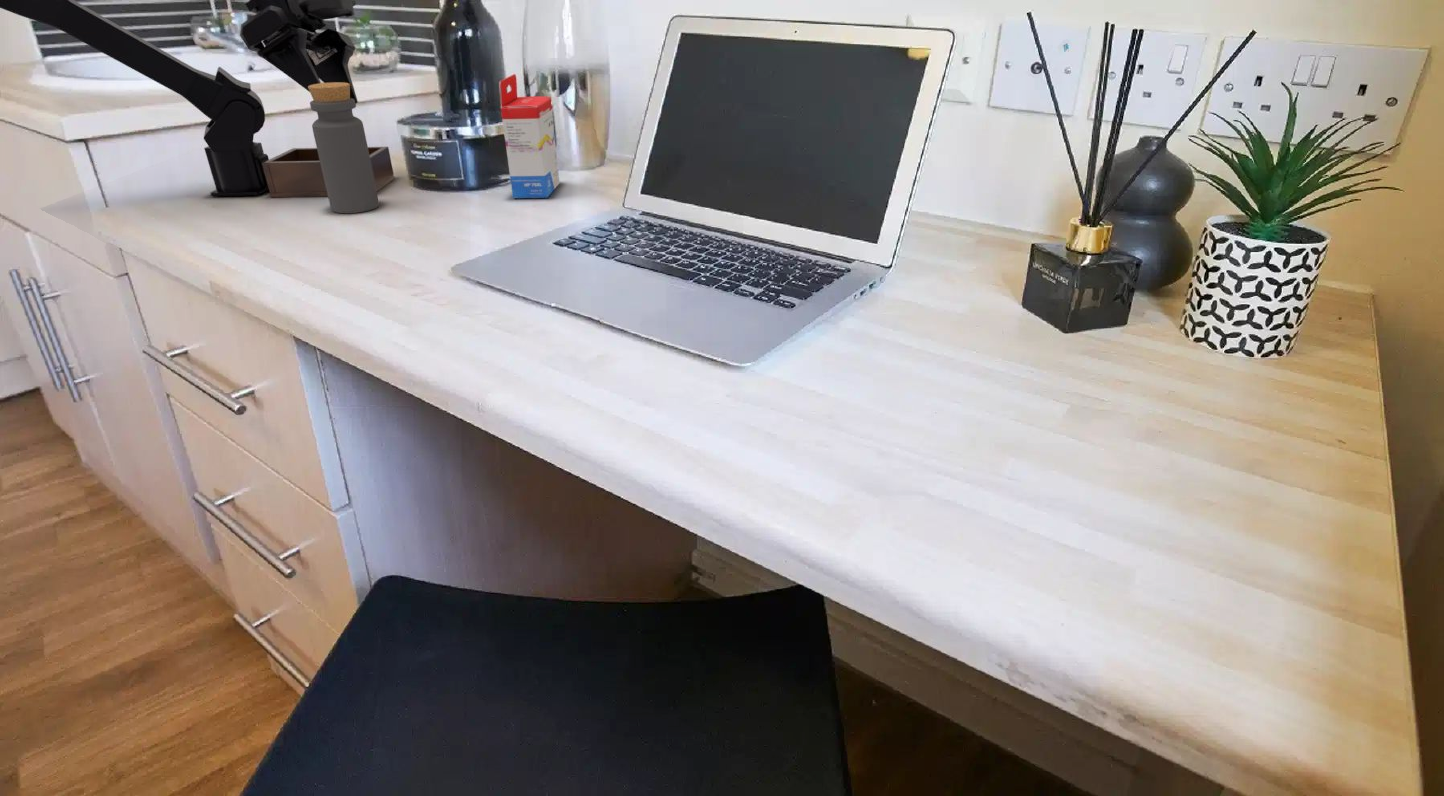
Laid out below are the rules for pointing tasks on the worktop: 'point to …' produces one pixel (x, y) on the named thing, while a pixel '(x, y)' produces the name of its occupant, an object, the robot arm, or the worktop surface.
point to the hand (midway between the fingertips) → (338, 100)
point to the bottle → (342, 149)
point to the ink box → (529, 142)
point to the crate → (315, 172)
